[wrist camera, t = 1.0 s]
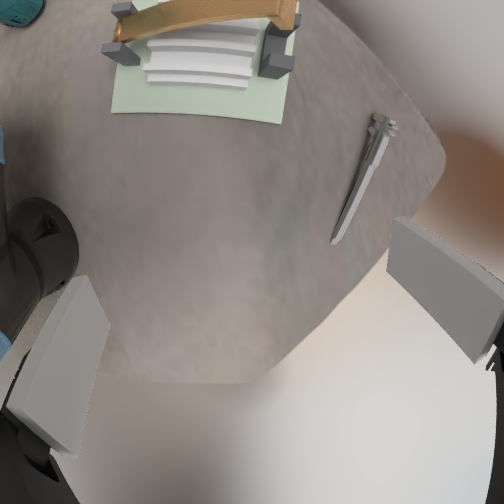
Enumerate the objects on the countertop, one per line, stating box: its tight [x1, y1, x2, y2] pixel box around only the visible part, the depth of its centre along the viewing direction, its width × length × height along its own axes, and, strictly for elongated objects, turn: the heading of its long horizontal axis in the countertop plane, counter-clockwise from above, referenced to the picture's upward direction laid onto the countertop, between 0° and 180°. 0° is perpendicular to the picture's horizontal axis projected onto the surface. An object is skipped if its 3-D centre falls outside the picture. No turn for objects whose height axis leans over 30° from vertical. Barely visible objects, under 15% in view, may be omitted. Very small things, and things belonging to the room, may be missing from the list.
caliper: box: [330, 115, 399, 245], centre depth 35 cm, size 20×1×6 cm, turn 165°
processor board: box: [101, 0, 301, 124], centre depth 23 cm, size 21×18×10 cm
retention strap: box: [112, 0, 297, 44], centre depth 17 cm, size 18×3×4 cm
